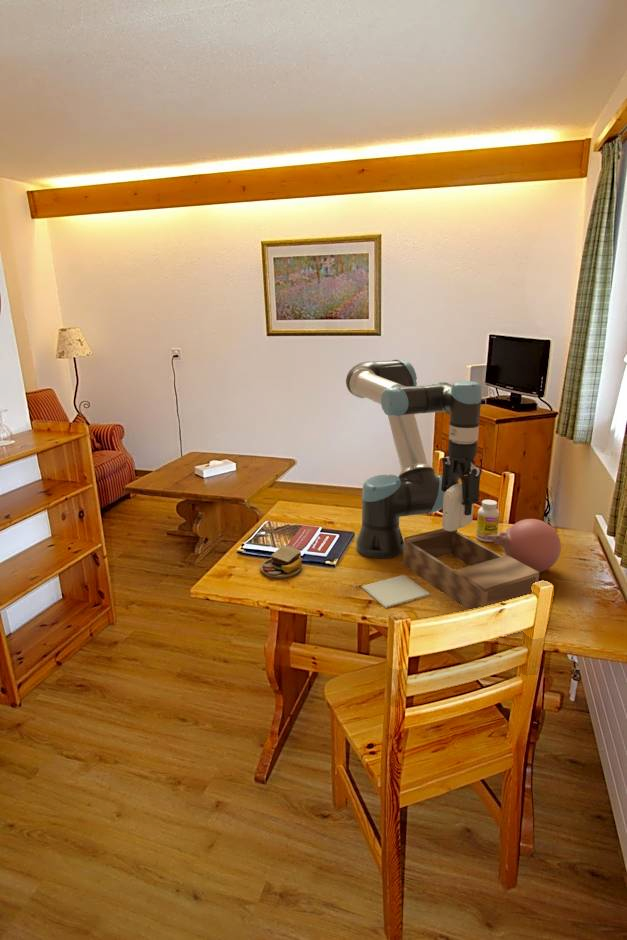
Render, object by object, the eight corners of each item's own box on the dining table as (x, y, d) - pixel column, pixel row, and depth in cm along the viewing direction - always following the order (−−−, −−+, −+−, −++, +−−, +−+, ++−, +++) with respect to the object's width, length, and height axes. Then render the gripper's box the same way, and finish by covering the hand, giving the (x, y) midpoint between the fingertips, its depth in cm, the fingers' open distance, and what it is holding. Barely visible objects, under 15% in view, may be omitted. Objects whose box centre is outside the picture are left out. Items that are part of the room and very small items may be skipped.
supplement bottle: (482, 543, 181) (485, 506, 177) (472, 535, 187) (474, 499, 184) (500, 541, 183) (504, 504, 179) (490, 533, 189) (493, 497, 185)
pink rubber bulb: (485, 553, 174) (488, 507, 170) (554, 560, 169) (560, 513, 164) (485, 577, 160) (489, 527, 155) (561, 585, 155) (567, 534, 150)
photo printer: (452, 533, 152) (455, 490, 148) (439, 528, 155) (441, 486, 151) (474, 523, 158) (477, 481, 154) (461, 518, 161) (464, 478, 158)
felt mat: (361, 587, 155) (361, 585, 155) (403, 576, 161) (403, 574, 161) (385, 608, 145) (385, 606, 145) (429, 595, 151) (429, 593, 151)
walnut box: (403, 565, 168) (404, 537, 165) (451, 552, 175) (452, 526, 173) (482, 620, 139) (485, 588, 136) (535, 603, 146) (539, 572, 144)
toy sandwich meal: (251, 570, 167) (250, 556, 166) (284, 555, 176) (283, 541, 175) (280, 584, 159) (280, 569, 157) (313, 567, 168) (312, 553, 167)
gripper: (430, 434, 155) (426, 512, 162) (475, 450, 140) (468, 535, 147) (452, 431, 158) (447, 507, 166) (498, 446, 143) (490, 530, 150)
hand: (457, 520), depth 156 cm, fingers closed on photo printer, 5 cm apart
